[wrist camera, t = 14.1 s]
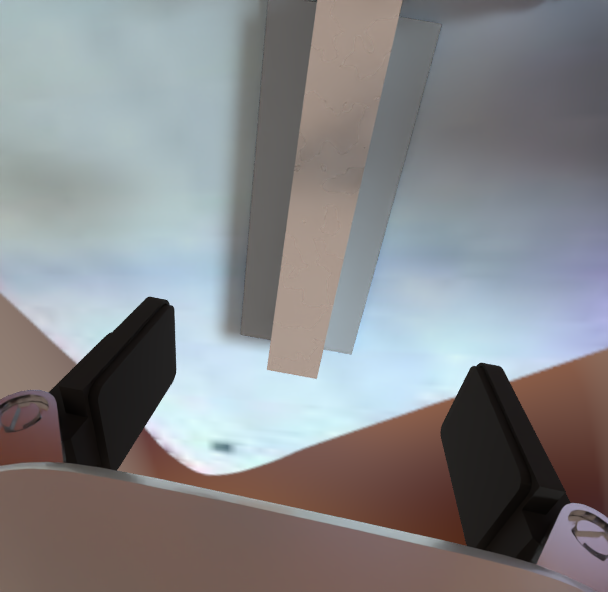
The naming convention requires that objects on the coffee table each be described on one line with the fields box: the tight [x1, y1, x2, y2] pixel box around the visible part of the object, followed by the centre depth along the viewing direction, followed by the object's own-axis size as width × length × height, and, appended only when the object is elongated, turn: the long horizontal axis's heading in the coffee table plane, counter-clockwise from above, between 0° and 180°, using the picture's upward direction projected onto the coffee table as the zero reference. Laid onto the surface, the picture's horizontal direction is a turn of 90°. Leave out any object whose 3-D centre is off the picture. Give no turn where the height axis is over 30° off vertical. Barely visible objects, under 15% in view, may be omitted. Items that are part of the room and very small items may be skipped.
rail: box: [267, 0, 403, 379], centre depth 25 cm, size 4×24×4 cm, turn 171°
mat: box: [240, 0, 442, 354], centre depth 27 cm, size 10×24×1 cm, turn 171°
